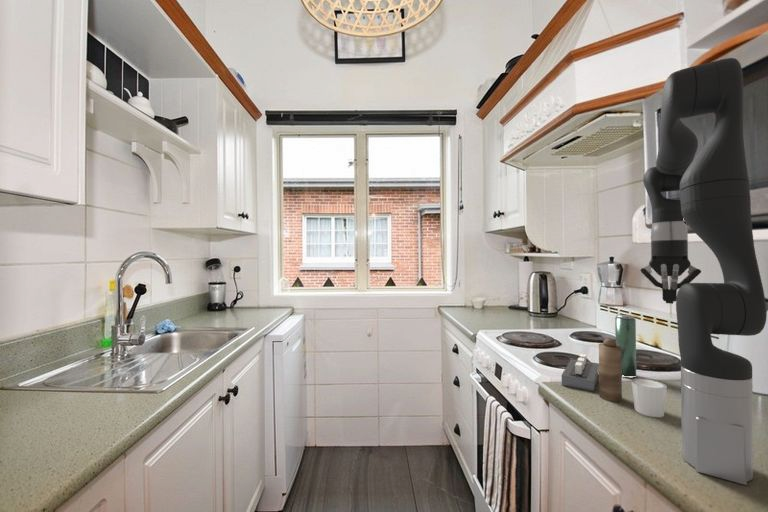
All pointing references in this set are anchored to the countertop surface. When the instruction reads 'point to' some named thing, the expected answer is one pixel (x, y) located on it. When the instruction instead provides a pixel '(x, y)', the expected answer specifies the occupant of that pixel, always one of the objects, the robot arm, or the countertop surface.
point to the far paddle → (584, 357)
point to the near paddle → (578, 368)
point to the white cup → (649, 397)
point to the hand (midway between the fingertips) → (669, 303)
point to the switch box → (581, 376)
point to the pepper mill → (610, 371)
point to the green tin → (626, 342)
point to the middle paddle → (581, 361)
